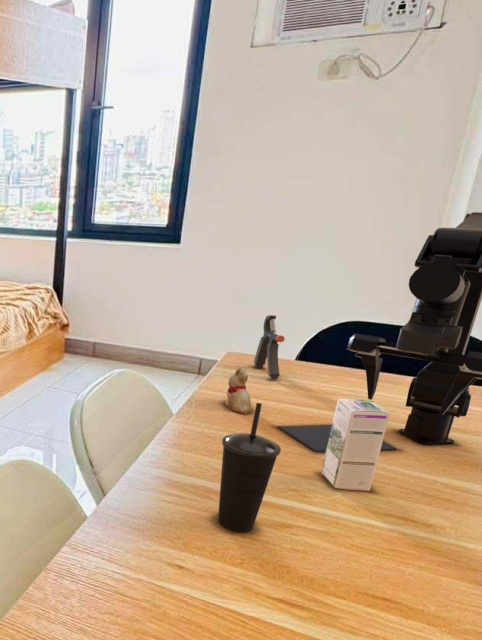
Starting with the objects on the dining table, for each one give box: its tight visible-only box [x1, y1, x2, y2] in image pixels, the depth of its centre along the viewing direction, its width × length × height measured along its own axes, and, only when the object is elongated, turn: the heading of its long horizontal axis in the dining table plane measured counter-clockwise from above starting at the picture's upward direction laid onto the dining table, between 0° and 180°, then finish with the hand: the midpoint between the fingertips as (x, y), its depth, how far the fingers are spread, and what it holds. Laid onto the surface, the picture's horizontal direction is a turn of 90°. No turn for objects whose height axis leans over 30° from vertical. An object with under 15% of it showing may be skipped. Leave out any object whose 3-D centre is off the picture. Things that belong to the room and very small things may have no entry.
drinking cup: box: [217, 402, 282, 533], centre depth 94 cm, size 8×8×20 cm
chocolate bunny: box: [225, 365, 252, 415], centre depth 141 cm, size 6×8×10 cm
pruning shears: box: [253, 314, 285, 380], centre depth 162 cm, size 2×12×15 cm, turn 171°
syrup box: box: [320, 398, 390, 492], centre depth 107 cm, size 6×6×14 cm
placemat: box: [277, 424, 397, 453], centre depth 126 cm, size 16×12×1 cm
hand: (404, 406), depth 100 cm, fingers open, 9 cm apart
